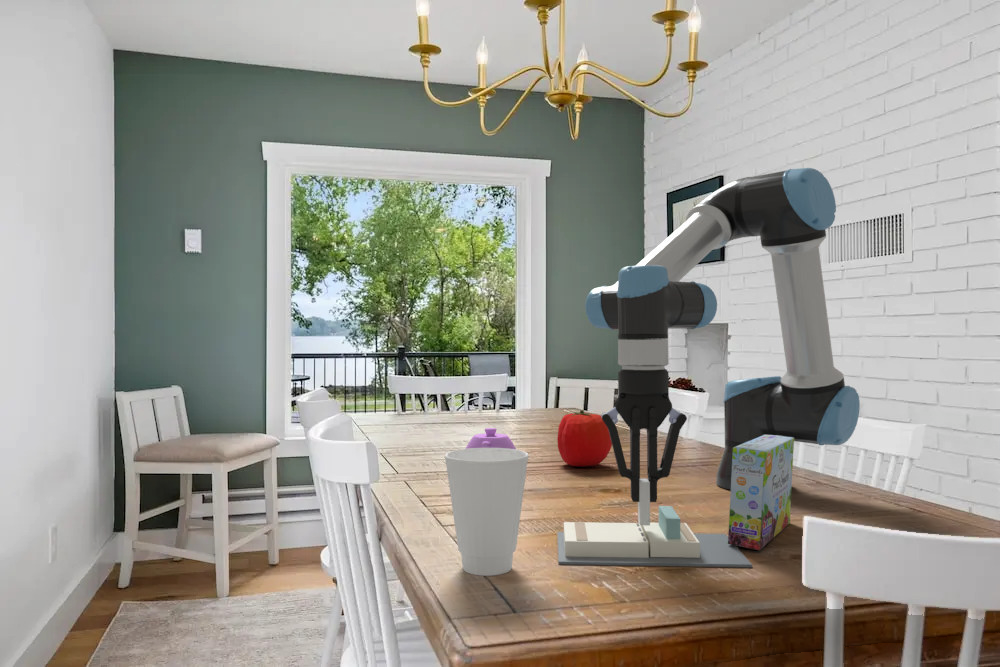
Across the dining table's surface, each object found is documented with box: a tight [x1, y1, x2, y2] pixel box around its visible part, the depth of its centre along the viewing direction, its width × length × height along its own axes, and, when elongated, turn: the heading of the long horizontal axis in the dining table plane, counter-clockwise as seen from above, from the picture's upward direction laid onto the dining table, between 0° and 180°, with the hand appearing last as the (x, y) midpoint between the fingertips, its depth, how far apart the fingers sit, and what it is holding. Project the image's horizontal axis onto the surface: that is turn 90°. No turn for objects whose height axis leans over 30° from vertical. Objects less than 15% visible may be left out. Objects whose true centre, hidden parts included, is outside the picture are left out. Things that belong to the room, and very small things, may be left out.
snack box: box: [727, 435, 795, 551], centre depth 121 cm, size 21×6×15 cm, turn 148°
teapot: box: [465, 427, 517, 450], centre depth 177 cm, size 14×20×11 cm
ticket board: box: [556, 521, 753, 568], centre depth 114 cm, size 27×16×3 cm, turn 86°
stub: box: [641, 505, 700, 558], centre depth 114 cm, size 7×11×5 cm, turn 176°
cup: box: [444, 448, 530, 577], centre depth 105 cm, size 12×12×16 cm
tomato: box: [556, 409, 613, 468], centre depth 184 cm, size 16×14×14 cm
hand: (643, 522), depth 114 cm, fingers closed
